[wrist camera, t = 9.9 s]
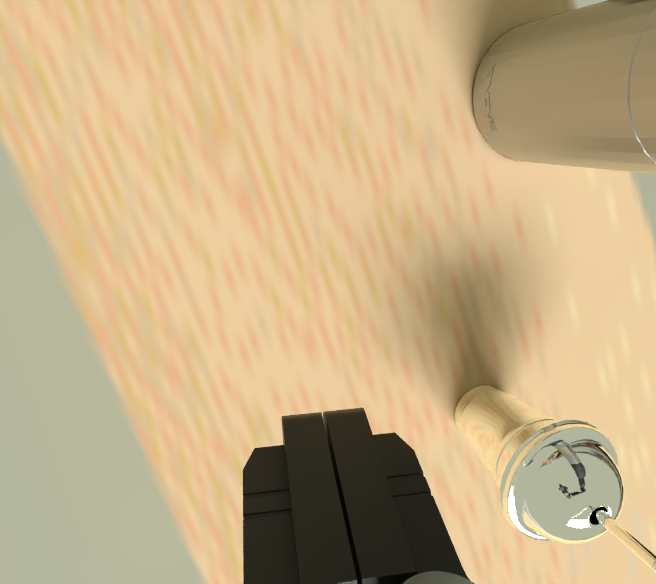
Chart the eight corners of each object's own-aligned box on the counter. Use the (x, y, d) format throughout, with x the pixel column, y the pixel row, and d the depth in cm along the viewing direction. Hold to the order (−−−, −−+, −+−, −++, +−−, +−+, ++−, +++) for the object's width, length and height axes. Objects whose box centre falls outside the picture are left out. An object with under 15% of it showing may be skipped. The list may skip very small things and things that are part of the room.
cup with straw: (536, 428, 49) (766, 612, 30) (443, 478, 47) (624, 702, 29) (512, 344, 46) (751, 490, 27) (412, 394, 44) (592, 584, 26)
